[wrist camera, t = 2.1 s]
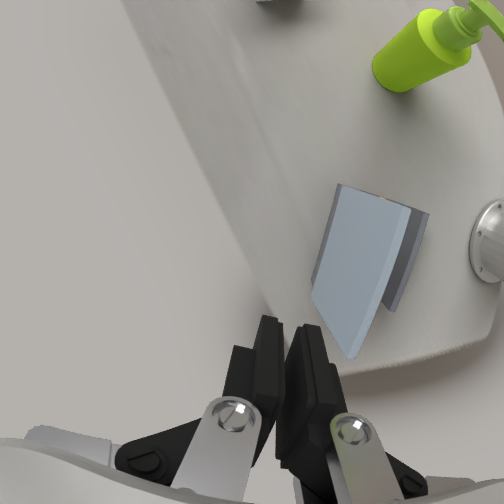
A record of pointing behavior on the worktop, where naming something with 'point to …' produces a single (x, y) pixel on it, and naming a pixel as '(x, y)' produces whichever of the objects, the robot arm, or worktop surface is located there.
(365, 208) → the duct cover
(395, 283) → the cable duct
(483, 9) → the soap dispenser
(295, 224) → the worktop surface
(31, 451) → the robot arm
